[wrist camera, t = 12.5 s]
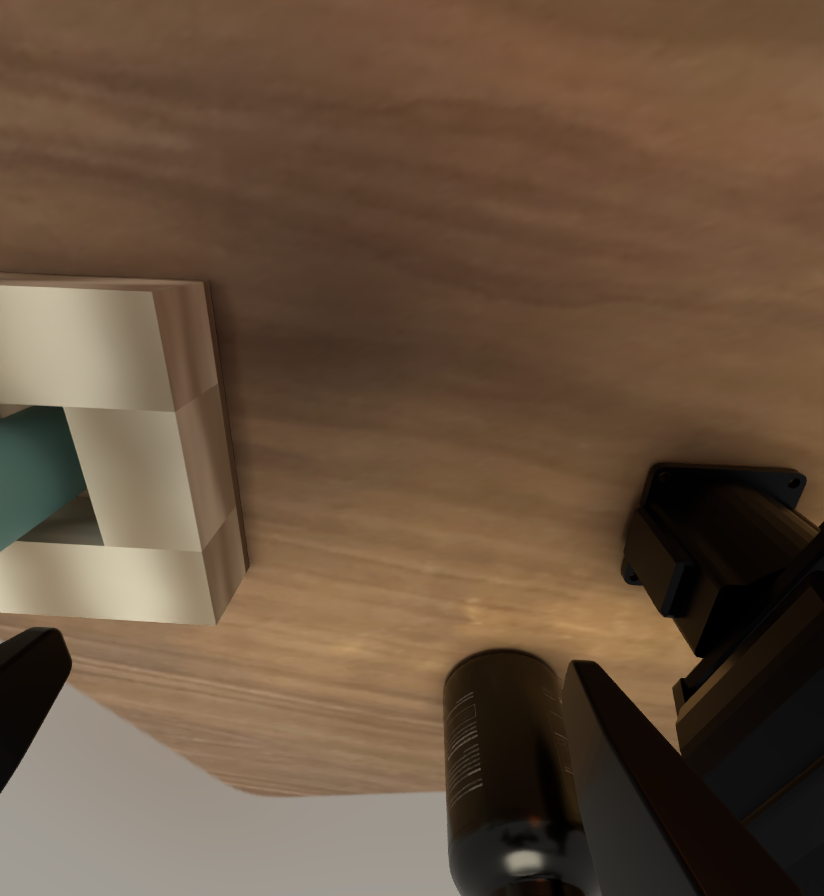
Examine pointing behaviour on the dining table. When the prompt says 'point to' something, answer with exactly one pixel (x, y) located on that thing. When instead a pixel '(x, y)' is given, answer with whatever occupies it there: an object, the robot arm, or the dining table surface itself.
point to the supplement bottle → (512, 783)
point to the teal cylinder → (35, 469)
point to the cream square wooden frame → (125, 449)
